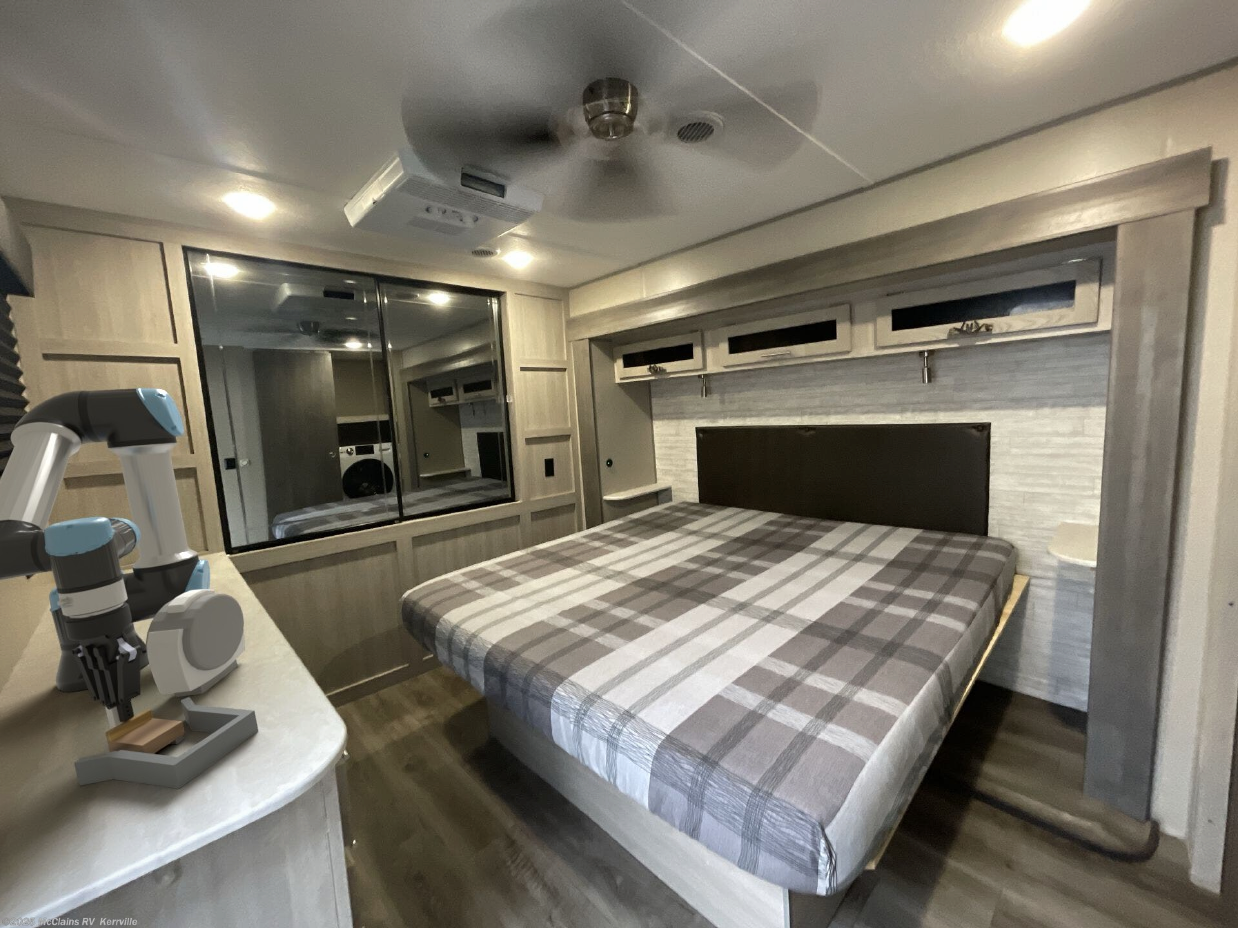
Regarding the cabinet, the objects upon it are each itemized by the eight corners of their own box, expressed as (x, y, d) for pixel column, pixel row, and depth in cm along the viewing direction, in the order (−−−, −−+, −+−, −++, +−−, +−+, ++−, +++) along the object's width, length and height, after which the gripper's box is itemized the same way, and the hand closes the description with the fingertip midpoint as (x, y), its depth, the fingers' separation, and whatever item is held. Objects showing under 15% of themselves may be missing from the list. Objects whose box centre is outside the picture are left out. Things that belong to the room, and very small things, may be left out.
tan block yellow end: (111, 758, 82) (105, 732, 81) (152, 734, 88) (146, 709, 87) (146, 763, 80) (140, 736, 79) (185, 738, 86) (180, 713, 85)
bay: (77, 785, 76) (71, 762, 76) (191, 715, 92) (186, 696, 92) (165, 798, 72) (160, 774, 72) (268, 723, 88) (264, 703, 88)
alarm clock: (218, 660, 113) (202, 579, 111) (256, 656, 114) (241, 575, 111) (151, 709, 96) (130, 613, 93) (196, 704, 96) (177, 608, 94)
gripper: (39, 617, 79) (71, 747, 82) (96, 620, 76) (127, 755, 79) (97, 598, 86) (124, 719, 89) (151, 600, 83) (177, 725, 87)
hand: (125, 736), depth 84 cm, fingers closed
